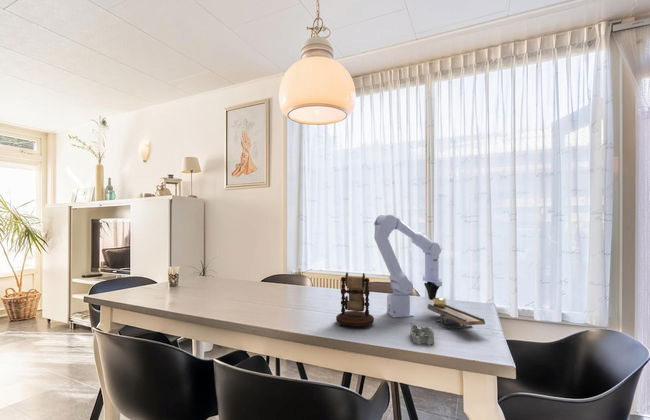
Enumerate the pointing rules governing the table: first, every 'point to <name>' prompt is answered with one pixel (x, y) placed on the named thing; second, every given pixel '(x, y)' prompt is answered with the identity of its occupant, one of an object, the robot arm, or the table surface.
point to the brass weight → (439, 302)
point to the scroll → (355, 302)
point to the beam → (458, 315)
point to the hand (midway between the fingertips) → (432, 299)
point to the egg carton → (422, 335)
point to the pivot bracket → (450, 323)
